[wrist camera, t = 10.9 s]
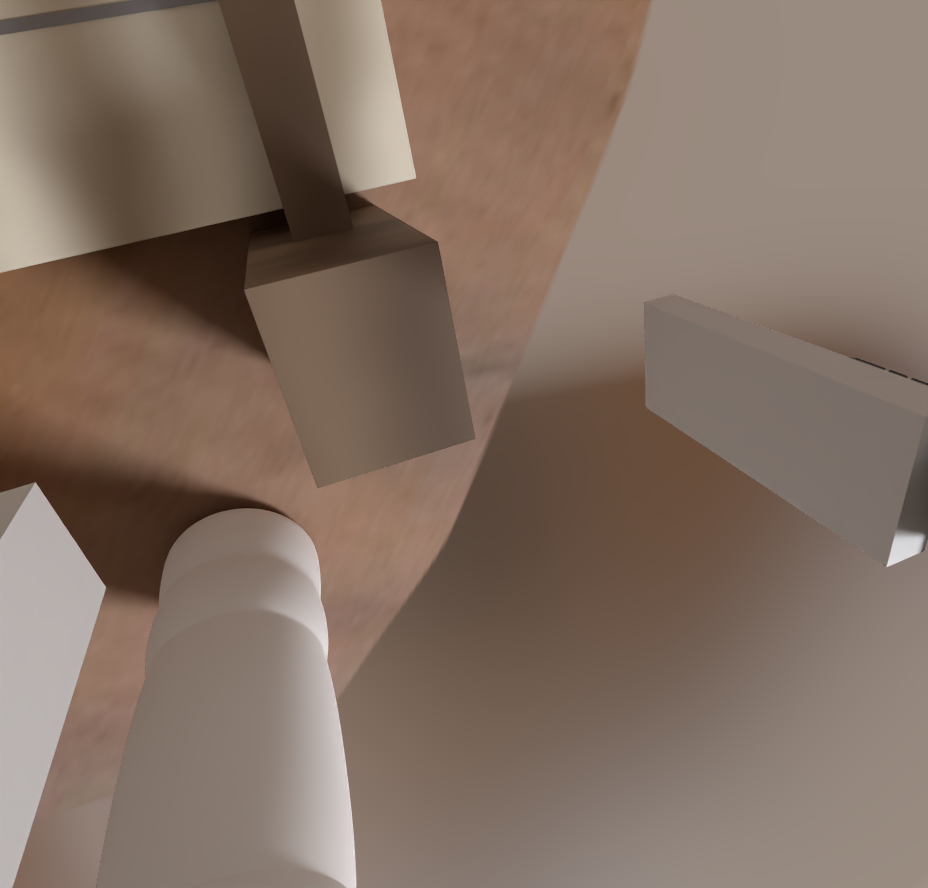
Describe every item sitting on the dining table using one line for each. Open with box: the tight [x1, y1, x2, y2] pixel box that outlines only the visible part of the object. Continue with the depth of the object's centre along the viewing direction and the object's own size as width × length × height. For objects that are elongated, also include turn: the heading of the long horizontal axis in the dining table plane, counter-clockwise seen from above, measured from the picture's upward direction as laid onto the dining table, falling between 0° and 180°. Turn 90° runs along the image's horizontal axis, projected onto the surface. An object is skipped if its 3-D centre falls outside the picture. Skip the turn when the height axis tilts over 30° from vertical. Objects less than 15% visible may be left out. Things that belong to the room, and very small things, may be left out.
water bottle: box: [96, 508, 356, 888], centre depth 19 cm, size 7×7×25 cm
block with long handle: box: [218, 0, 475, 488], centre depth 18 cm, size 5×14×10 cm, turn 10°
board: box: [0, 0, 416, 273], centre depth 18 cm, size 20×11×2 cm, turn 100°
